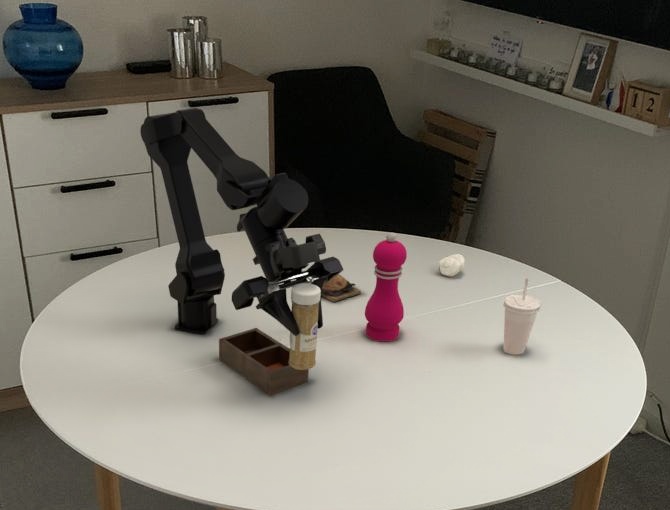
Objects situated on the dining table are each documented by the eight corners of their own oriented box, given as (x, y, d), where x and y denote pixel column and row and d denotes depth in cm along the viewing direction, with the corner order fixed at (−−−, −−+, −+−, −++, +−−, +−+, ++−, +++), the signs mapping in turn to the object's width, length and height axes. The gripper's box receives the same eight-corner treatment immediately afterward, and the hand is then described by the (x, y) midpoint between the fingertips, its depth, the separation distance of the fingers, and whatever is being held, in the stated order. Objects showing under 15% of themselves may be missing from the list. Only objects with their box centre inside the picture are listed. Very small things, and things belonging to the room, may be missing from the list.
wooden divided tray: (219, 359, 158) (218, 339, 156) (256, 347, 162) (256, 327, 160) (270, 395, 147) (270, 374, 145) (308, 381, 151) (309, 360, 149)
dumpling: (468, 278, 191) (468, 263, 188) (445, 284, 191) (445, 268, 188) (456, 261, 196) (457, 245, 193) (434, 266, 196) (434, 251, 193)
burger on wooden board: (363, 294, 183) (365, 278, 181) (331, 303, 179) (333, 287, 177) (331, 277, 190) (332, 261, 188) (299, 285, 186) (300, 269, 184)
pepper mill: (400, 344, 163) (411, 241, 153) (361, 340, 165) (369, 238, 154) (402, 327, 169) (413, 227, 159) (364, 324, 171) (373, 224, 160)
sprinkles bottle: (312, 372, 142) (316, 296, 134) (284, 368, 143) (287, 291, 135) (318, 359, 145) (324, 284, 138) (292, 355, 146) (295, 280, 139)
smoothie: (534, 346, 163) (548, 275, 156) (528, 361, 158) (542, 288, 151) (499, 339, 166) (512, 269, 158) (492, 353, 161) (504, 282, 153)
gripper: (242, 231, 129) (285, 327, 128) (340, 207, 139) (381, 297, 137) (213, 263, 139) (252, 353, 138) (306, 239, 148) (344, 323, 147)
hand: (309, 331), depth 139 cm, fingers closed on sprinkles bottle, 4 cm apart
